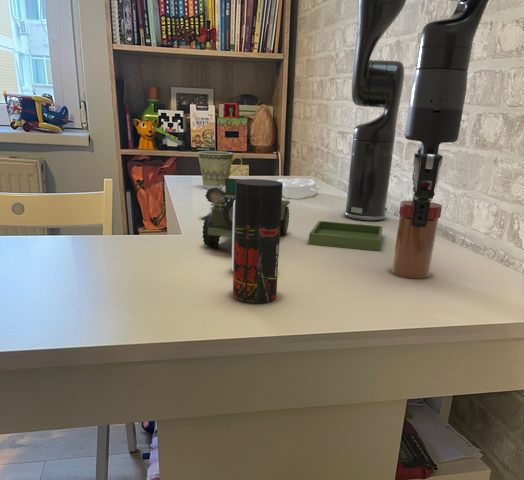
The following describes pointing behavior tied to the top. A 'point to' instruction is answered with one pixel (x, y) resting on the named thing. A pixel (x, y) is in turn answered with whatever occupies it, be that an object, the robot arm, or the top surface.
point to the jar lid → (408, 207)
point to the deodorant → (256, 239)
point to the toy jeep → (231, 216)
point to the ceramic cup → (216, 167)
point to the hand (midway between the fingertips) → (417, 221)
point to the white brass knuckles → (298, 188)
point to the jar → (414, 248)
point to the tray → (346, 235)
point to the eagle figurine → (214, 197)
